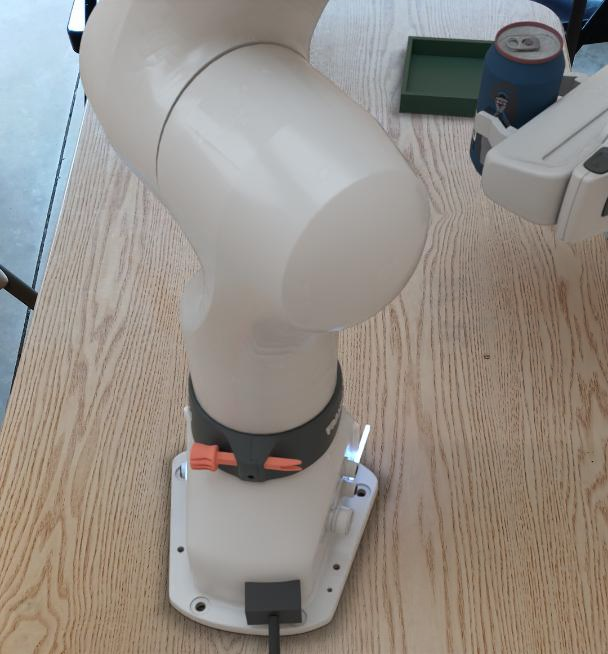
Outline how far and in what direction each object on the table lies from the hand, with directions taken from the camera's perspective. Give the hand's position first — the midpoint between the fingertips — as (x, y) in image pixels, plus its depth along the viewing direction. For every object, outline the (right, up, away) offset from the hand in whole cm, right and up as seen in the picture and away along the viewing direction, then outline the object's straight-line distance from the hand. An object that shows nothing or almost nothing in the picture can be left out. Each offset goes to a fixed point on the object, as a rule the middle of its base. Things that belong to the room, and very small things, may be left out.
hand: (508, 97), depth 75 cm
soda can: (+1, -4, +6) cm, 7 cm away
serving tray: (0, +17, +29) cm, 33 cm away
